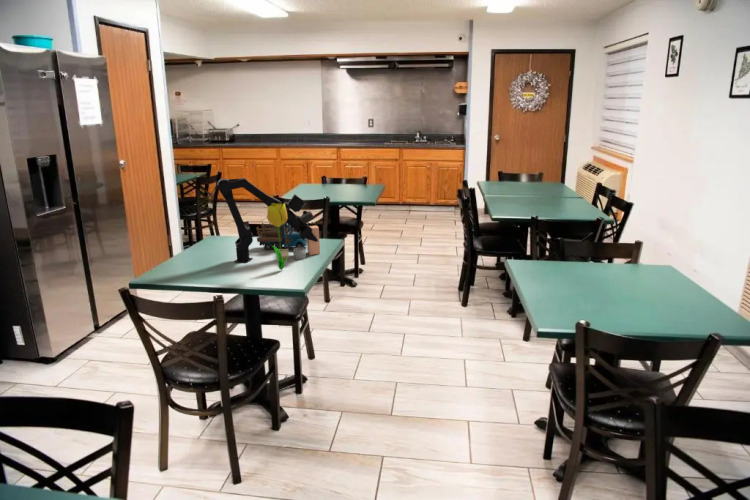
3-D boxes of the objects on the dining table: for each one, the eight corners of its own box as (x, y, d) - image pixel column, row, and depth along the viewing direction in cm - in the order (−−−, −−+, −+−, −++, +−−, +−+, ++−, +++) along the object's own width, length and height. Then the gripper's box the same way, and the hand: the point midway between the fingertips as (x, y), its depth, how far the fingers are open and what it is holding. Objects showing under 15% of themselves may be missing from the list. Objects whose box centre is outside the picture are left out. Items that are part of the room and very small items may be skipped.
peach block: (309, 254, 256) (308, 228, 252) (308, 252, 260) (306, 226, 257) (320, 253, 257) (318, 227, 254) (318, 251, 262) (316, 225, 259)
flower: (293, 268, 236) (288, 201, 228) (288, 273, 228) (284, 205, 220) (274, 267, 237) (269, 201, 229) (269, 273, 229) (263, 205, 221)
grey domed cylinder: (303, 260, 248) (302, 250, 247) (292, 259, 249) (291, 250, 248) (307, 256, 253) (306, 247, 252) (296, 256, 255) (295, 247, 253)
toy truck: (306, 250, 264) (304, 221, 260) (257, 251, 265) (254, 221, 261) (310, 245, 274) (308, 216, 270) (262, 245, 275) (260, 217, 271)
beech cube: (287, 260, 248) (287, 251, 247) (278, 261, 248) (277, 251, 247) (288, 258, 252) (288, 248, 251) (279, 258, 252) (278, 249, 251)
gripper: (306, 210, 243) (331, 231, 249) (299, 203, 260) (323, 223, 266) (290, 228, 243) (315, 249, 249) (284, 220, 260) (308, 240, 266)
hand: (316, 239), depth 257 cm, fingers closed on peach block, 5 cm apart
